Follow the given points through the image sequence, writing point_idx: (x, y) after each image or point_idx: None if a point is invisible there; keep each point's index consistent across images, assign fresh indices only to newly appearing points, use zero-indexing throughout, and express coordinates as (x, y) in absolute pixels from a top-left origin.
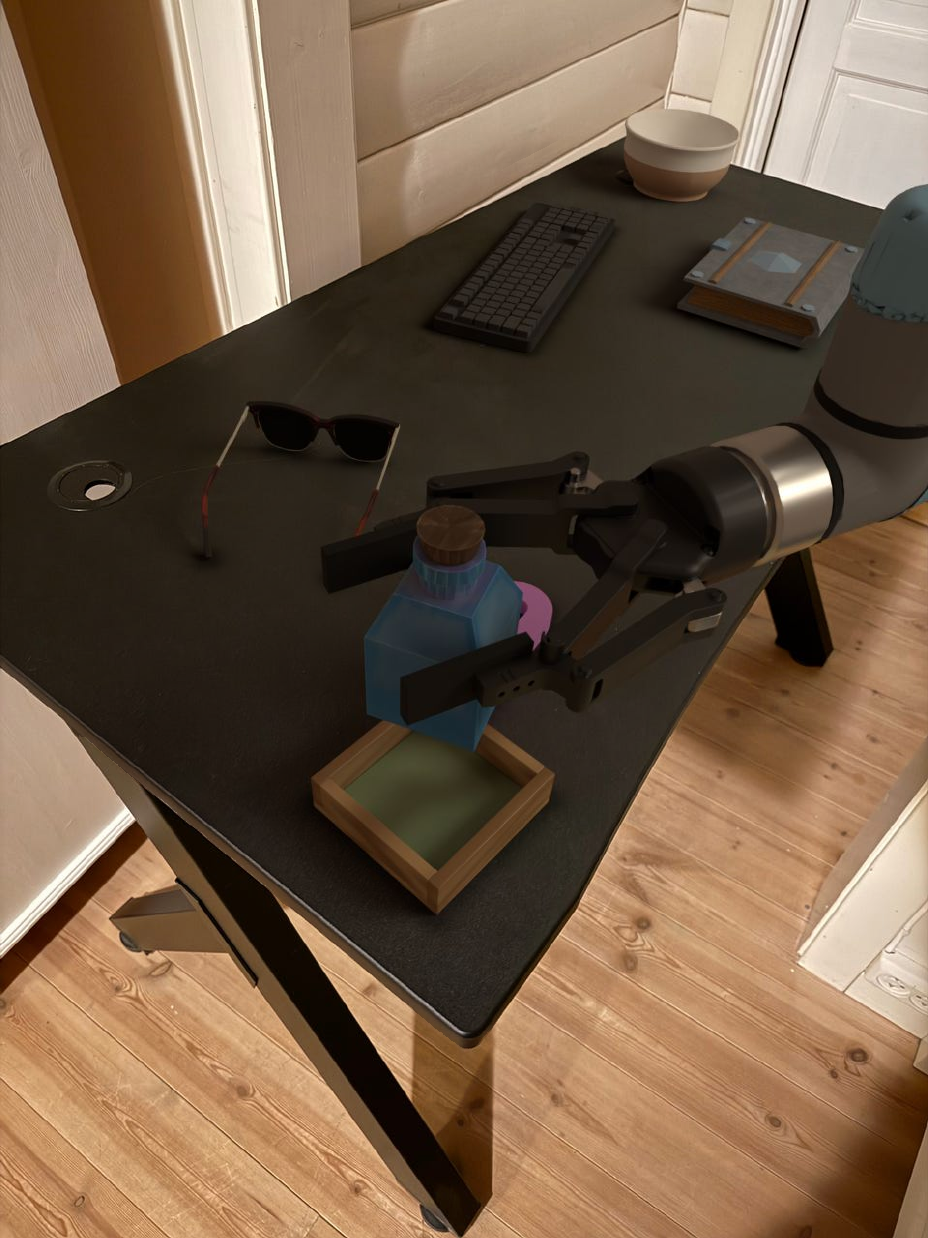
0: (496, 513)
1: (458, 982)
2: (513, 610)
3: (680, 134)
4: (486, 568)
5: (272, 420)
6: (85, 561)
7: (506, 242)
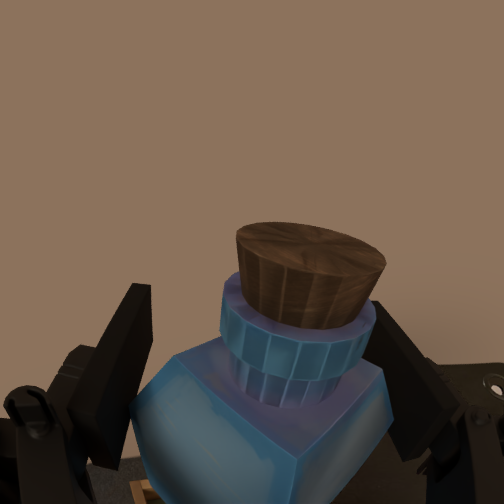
0: (475, 498)
1: (91, 479)
2: None
3: None
4: (295, 431)
5: None
6: (455, 387)
7: None
